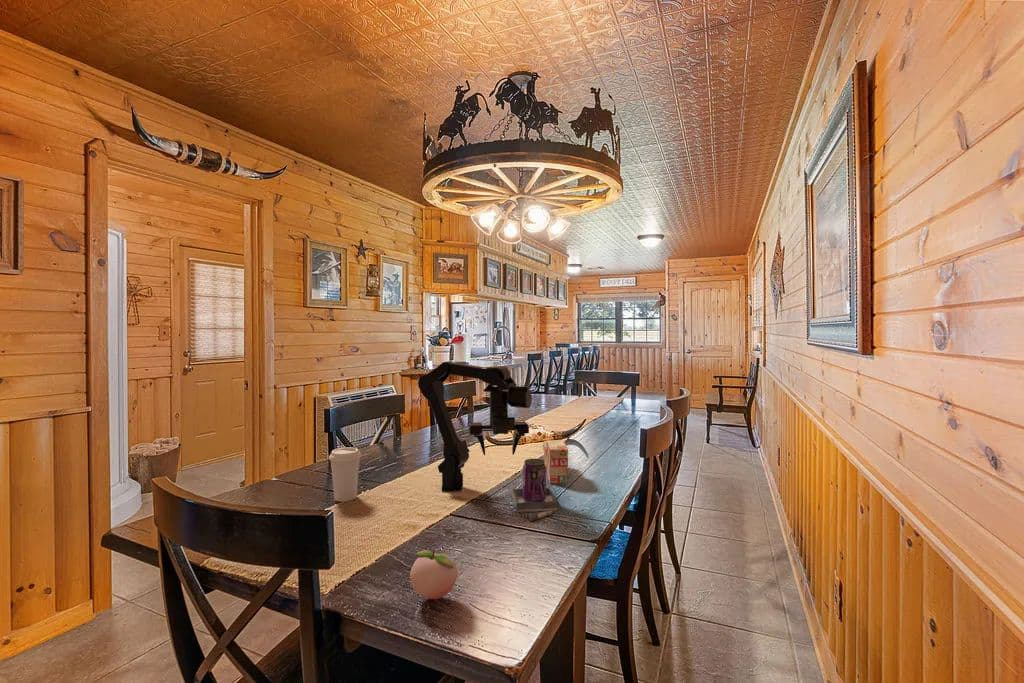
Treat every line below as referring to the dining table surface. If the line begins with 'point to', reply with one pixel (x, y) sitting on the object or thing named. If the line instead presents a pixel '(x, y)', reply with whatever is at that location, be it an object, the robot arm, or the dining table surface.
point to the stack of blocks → (556, 461)
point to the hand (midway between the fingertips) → (498, 454)
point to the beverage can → (534, 480)
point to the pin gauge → (538, 515)
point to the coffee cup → (345, 473)
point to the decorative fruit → (433, 574)
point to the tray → (524, 505)
